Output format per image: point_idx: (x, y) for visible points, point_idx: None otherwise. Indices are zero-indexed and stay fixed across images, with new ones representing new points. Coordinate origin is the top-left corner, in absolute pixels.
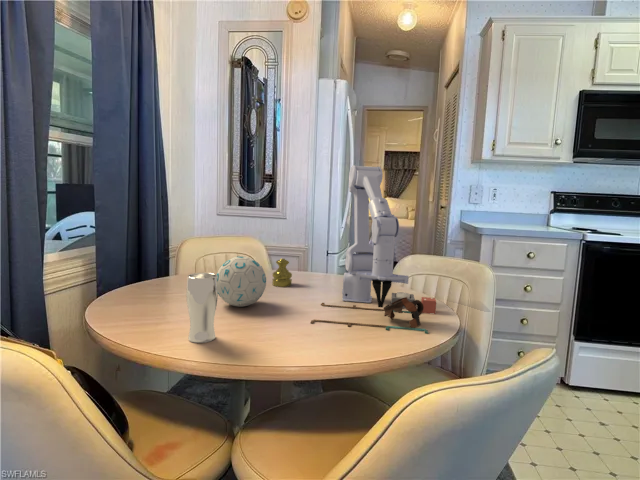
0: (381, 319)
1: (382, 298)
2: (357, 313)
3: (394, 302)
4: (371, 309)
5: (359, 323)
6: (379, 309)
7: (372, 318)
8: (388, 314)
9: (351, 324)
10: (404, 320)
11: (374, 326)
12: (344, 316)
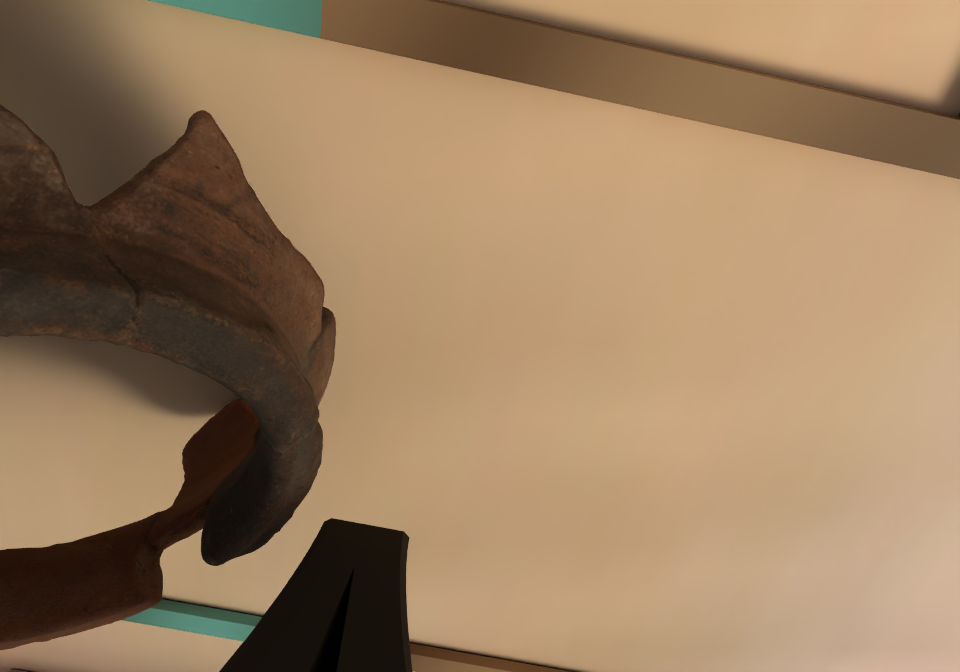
0: (382, 381)
1: (291, 663)
2: (651, 566)
3: (89, 604)
4: (456, 657)
5: (806, 136)
6: None
7: (501, 413)
8: (238, 184)
9: (953, 118)
10: (69, 354)
11: (555, 30)
12: (874, 474)
